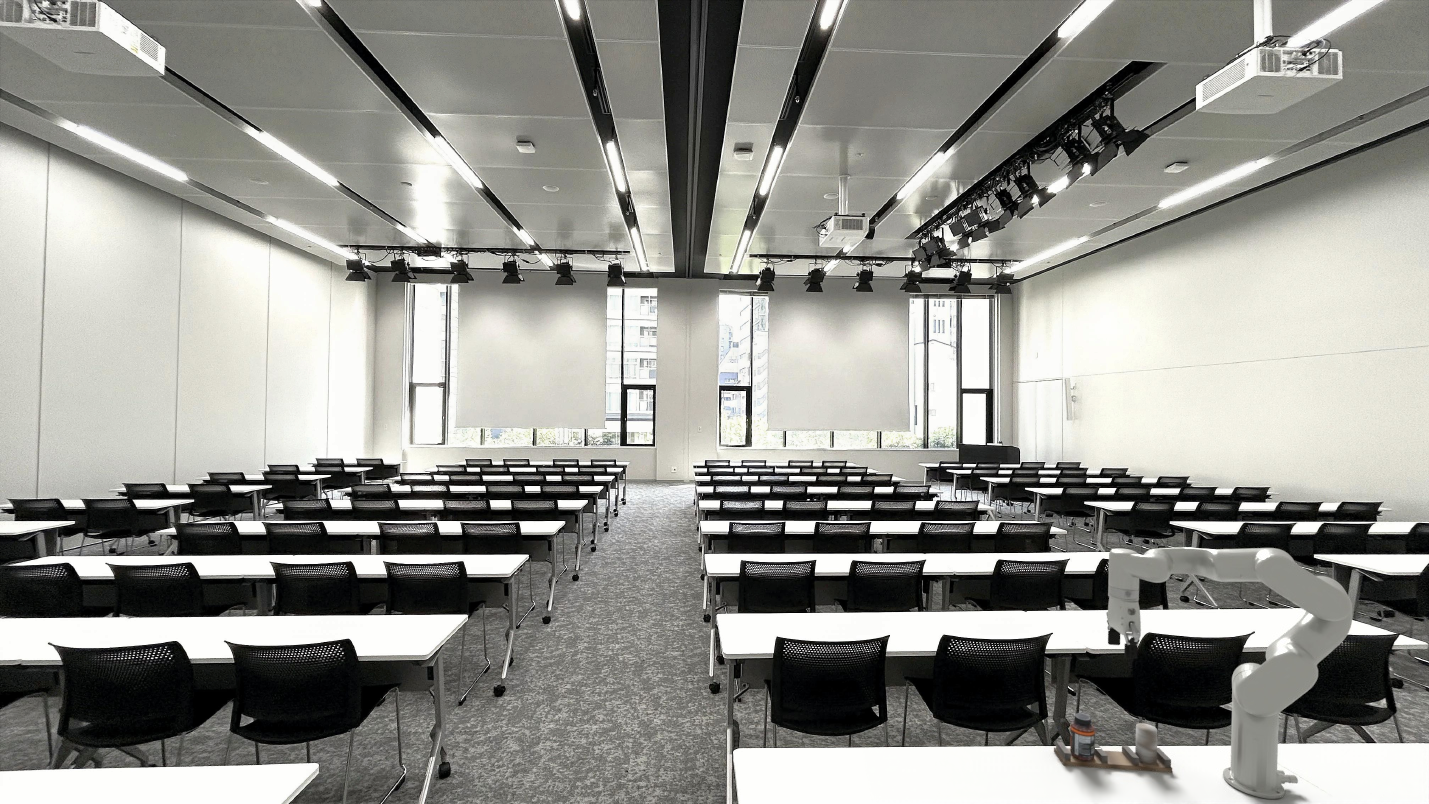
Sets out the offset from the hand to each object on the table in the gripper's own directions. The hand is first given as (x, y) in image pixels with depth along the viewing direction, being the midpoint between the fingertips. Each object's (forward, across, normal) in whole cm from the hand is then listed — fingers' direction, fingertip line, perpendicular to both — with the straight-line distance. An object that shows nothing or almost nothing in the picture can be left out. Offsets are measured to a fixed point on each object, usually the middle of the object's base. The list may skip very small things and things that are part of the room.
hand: (1122, 651), depth 192 cm
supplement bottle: (+27, -8, +14) cm, 32 cm away
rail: (+28, -8, +6) cm, 30 cm away
